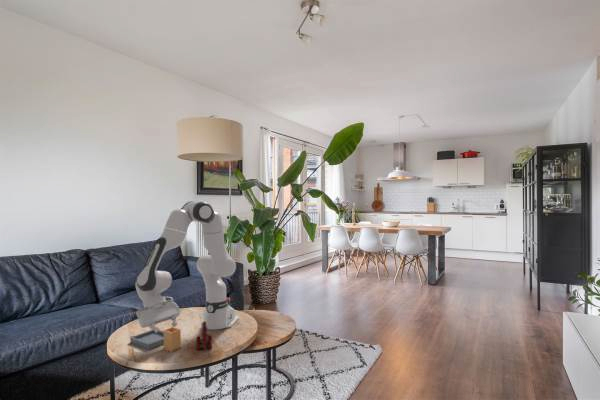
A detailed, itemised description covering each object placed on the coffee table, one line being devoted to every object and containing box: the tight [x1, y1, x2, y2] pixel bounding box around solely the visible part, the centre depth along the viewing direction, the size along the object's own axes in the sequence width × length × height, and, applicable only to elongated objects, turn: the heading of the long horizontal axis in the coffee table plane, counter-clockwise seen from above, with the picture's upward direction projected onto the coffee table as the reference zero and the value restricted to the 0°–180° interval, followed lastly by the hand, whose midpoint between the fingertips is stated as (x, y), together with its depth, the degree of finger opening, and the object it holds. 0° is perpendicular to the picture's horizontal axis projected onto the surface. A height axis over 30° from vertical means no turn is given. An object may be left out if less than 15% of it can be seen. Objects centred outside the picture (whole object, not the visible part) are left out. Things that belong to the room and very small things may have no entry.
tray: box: [130, 329, 164, 351], centre depth 173 cm, size 16×14×2 cm
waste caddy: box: [162, 326, 182, 353], centre depth 164 cm, size 6×5×9 cm
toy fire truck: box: [196, 322, 213, 351], centre depth 167 cm, size 7×12×10 cm, turn 16°
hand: (166, 328), depth 166 cm, fingers open, 8 cm apart
